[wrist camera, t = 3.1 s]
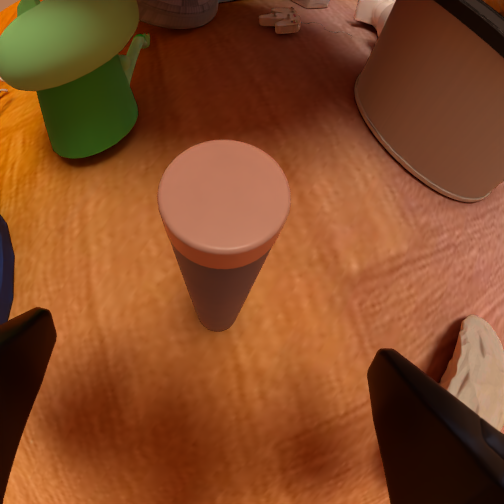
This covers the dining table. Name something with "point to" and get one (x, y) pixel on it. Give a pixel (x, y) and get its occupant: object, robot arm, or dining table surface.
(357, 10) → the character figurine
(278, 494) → the dining table surface
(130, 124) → the toy character
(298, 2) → the ink box
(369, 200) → the dining table surface
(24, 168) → the dining table surface
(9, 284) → the lantern
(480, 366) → the stone
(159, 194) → the capped glue stick
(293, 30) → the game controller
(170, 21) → the flying saucer
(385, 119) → the container
